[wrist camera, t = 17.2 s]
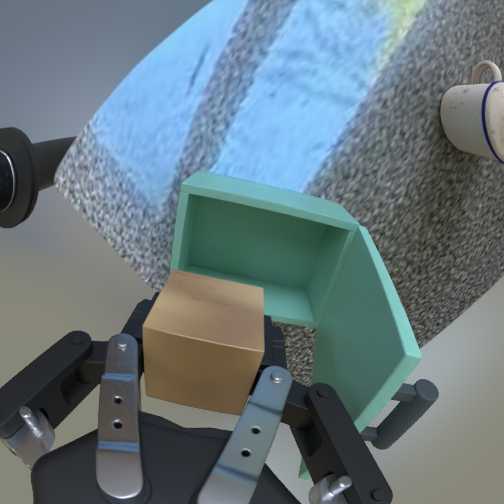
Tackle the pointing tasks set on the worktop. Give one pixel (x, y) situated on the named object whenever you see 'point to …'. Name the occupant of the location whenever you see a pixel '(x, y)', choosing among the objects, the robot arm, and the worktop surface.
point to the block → (204, 342)
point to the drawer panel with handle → (369, 349)
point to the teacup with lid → (476, 115)
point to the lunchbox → (263, 242)
